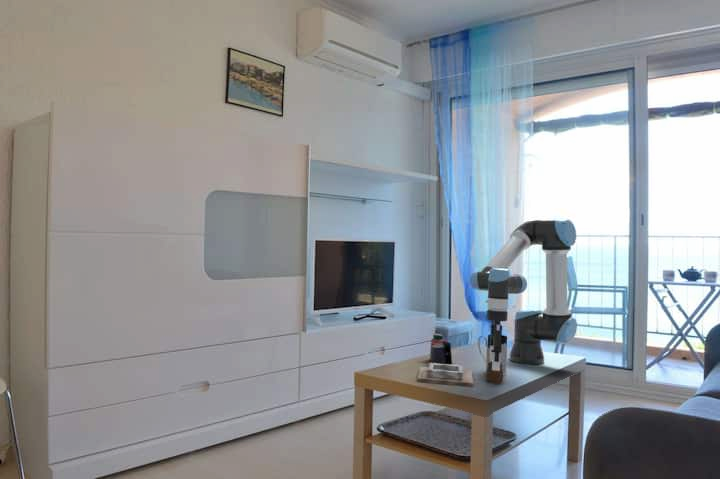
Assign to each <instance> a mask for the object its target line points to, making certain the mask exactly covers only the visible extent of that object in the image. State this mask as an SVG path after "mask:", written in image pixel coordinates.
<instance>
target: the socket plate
mask: <svg viewBox="0 0 720 479" xmlns="http://www.w3.org/2000/svg"><path fill="white" fill-rule="evenodd" d="M417 382H420V383H431V384H441V385H452V386H453V385H455V386H463V387H466V386H467V387H474V379H473V373H472V370H467V369H463V365H458V364H452V365H448V364H437V363H433V362H429V366H420V367H419V372H418V375H417Z"/></svg>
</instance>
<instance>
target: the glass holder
mask: <svg viewBox="0 0 720 479" xmlns="http://www.w3.org/2000/svg"><path fill="white" fill-rule="evenodd" d="M490 336H491V333H490V334H488V335H487V337H486V336H485V335H480V336H479V337H478V340H477V346H478V350H479V354H480V355H481V357H482V359H483V360H484V361H485V370H484V373H485V374H486V375H487V368H488V367H489V366H488V363H489V358H488V354H487V353H486V357H485V356H484V354H483V352H482V349H481V346H480V345H481V344H480V340H481V338H482V337H483V338H484V340H485V346H486V351H487V350H488V353H489V357H490V346H492V345H490ZM501 350H502V351H501V356H500V360H501V361H500V363H501V362H502V363H501V364H502V369H503V377H506V376H507V375H508V373H507V363H508V362H507V358H508V357H507V356H508V336H506V335H503V334H502V336H501ZM502 353H503V354H502Z"/></svg>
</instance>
